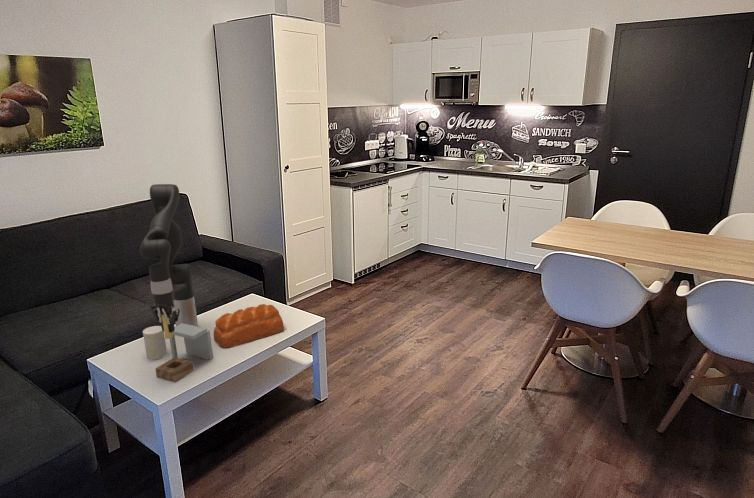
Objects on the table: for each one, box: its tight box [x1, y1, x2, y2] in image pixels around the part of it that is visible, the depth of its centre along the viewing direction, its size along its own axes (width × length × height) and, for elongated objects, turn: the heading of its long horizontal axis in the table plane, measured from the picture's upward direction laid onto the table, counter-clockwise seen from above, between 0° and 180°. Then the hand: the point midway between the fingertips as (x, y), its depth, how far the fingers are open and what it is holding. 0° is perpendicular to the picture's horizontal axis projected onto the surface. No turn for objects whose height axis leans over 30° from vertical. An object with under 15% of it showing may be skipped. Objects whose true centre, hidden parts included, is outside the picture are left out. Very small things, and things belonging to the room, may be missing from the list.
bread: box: [213, 303, 285, 348], centre depth 235 cm, size 16×31×13 cm, turn 125°
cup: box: [142, 325, 168, 361], centre depth 217 cm, size 8×8×12 cm
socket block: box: [155, 357, 195, 383], centre depth 203 cm, size 10×10×4 cm
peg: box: [162, 314, 173, 340], centre depth 197 cm, size 3×3×10 cm
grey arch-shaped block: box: [169, 323, 214, 361], centre depth 212 cm, size 14×9×14 cm, turn 64°
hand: (168, 330), depth 198 cm, fingers closed on peg, 3 cm apart
